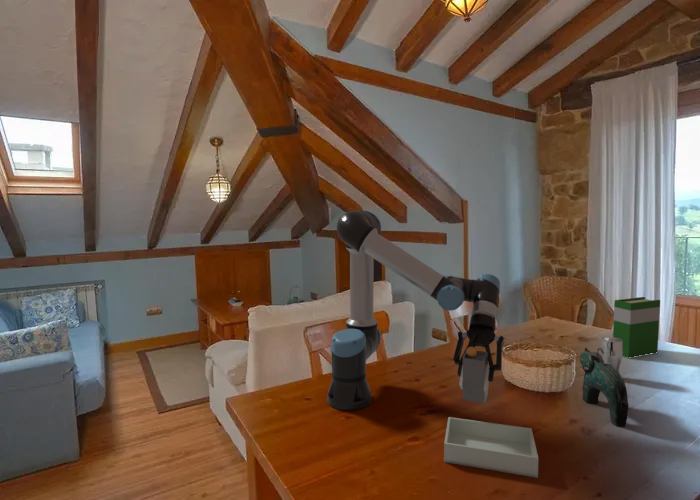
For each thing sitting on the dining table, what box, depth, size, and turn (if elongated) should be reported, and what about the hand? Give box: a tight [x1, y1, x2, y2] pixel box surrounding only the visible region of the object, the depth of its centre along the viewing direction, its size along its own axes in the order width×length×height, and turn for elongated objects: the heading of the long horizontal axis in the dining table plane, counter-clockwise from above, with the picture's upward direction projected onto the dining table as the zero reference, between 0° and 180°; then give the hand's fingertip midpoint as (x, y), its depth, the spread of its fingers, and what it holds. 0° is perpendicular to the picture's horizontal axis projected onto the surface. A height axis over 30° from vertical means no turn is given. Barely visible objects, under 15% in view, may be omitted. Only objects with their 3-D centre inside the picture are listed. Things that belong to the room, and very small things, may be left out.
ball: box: [466, 347, 478, 357], centre depth 117 cm, size 3×3×3 cm
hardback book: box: [612, 296, 661, 359], centre depth 178 cm, size 18×7×24 cm, turn 109°
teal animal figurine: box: [579, 347, 629, 427], centre depth 127 cm, size 20×6×20 cm, turn 178°
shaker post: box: [462, 350, 489, 405], centre depth 117 cm, size 6×6×13 cm
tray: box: [443, 416, 539, 479], centre depth 107 cm, size 22×14×5 cm, turn 72°
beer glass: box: [600, 336, 624, 374], centre depth 153 cm, size 7×7×15 cm
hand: (473, 389), depth 114 cm, fingers closed on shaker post, 6 cm apart
